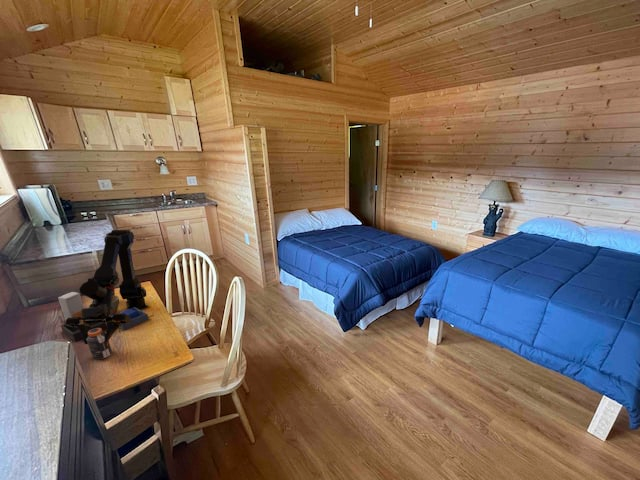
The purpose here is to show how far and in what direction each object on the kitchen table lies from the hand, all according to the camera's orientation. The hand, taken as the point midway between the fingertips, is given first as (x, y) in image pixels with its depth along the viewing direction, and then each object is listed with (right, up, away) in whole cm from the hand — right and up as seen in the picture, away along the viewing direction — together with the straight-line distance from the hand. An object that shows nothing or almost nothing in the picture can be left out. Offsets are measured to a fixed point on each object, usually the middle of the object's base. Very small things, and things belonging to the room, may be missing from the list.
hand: (96, 343), depth 112 cm
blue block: (-7, +4, +25) cm, 27 cm away
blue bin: (-7, +4, +26) cm, 27 cm away
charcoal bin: (-20, +1, +17) cm, 26 cm away
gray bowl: (-21, +7, +31) cm, 38 cm away
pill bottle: (-1, -6, +4) cm, 7 cm away
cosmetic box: (-31, +5, +25) cm, 40 cm away
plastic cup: (-29, +11, +38) cm, 49 cm away
